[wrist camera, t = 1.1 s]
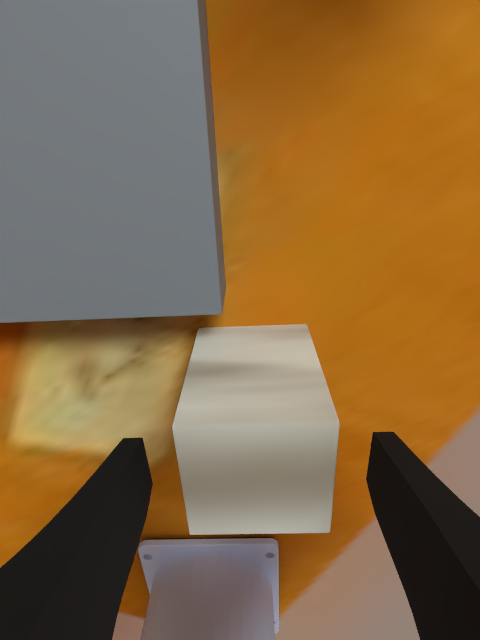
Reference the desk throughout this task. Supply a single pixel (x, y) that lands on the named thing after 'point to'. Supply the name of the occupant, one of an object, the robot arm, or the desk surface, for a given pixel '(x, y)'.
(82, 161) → the base block
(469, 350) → the desk surface
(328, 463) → the cream block
